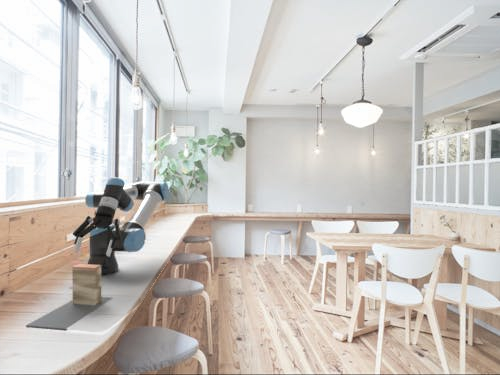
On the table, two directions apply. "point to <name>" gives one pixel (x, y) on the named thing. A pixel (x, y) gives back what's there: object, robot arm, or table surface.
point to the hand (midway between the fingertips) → (91, 254)
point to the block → (86, 284)
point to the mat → (65, 315)
